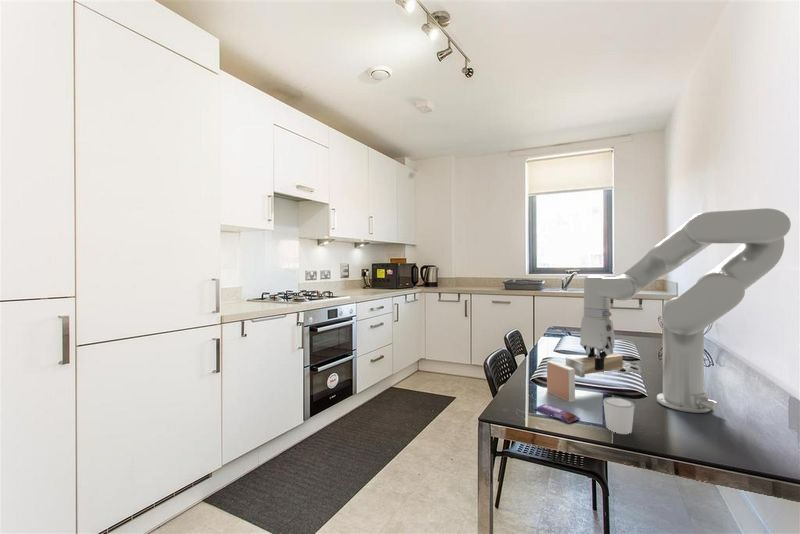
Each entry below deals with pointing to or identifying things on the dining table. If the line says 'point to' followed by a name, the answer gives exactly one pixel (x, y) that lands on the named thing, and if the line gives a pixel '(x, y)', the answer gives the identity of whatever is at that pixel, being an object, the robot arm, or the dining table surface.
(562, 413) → the snack package
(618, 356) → the tan wooden plank
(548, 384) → the tile
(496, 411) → the dining table surface
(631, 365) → the paint palette
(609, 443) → the dining table surface
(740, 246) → the robot arm
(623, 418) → the white cylinder
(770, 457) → the dining table surface
